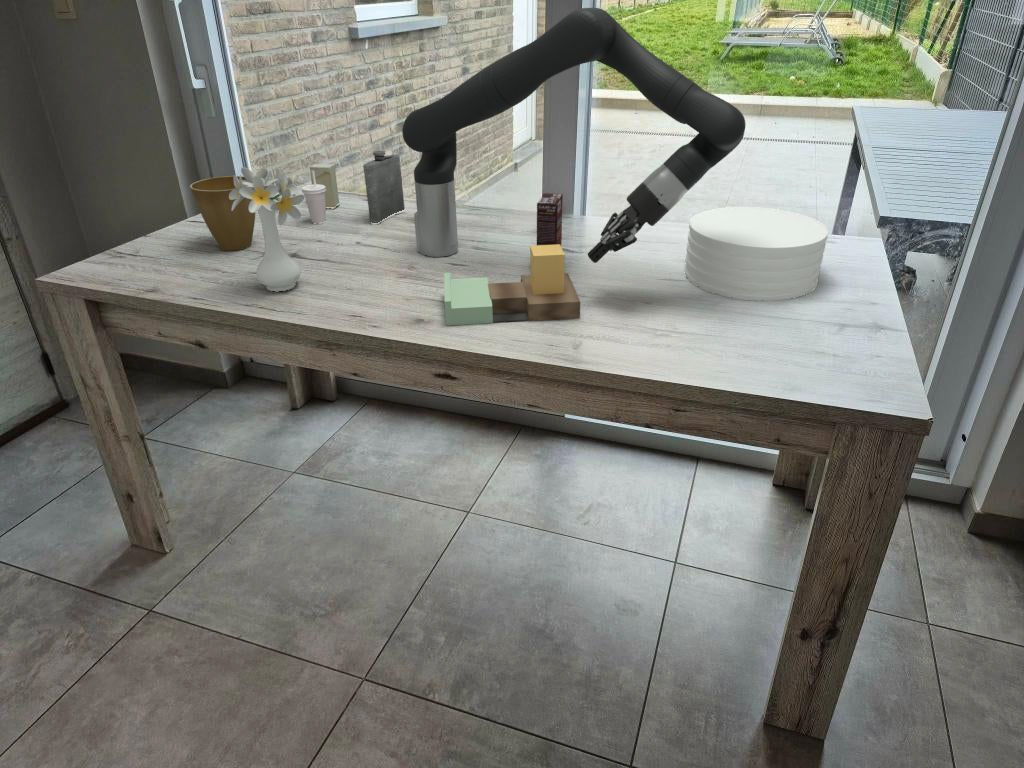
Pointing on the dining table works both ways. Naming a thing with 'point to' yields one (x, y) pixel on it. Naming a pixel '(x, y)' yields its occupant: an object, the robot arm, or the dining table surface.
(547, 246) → the block
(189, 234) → the dining table surface
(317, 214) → the smoothie
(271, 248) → the flower vase
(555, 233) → the supplement box
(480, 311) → the pale green stepped block
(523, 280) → the board
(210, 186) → the plant pot
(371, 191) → the flask
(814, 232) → the plate stack
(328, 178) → the skincare box
